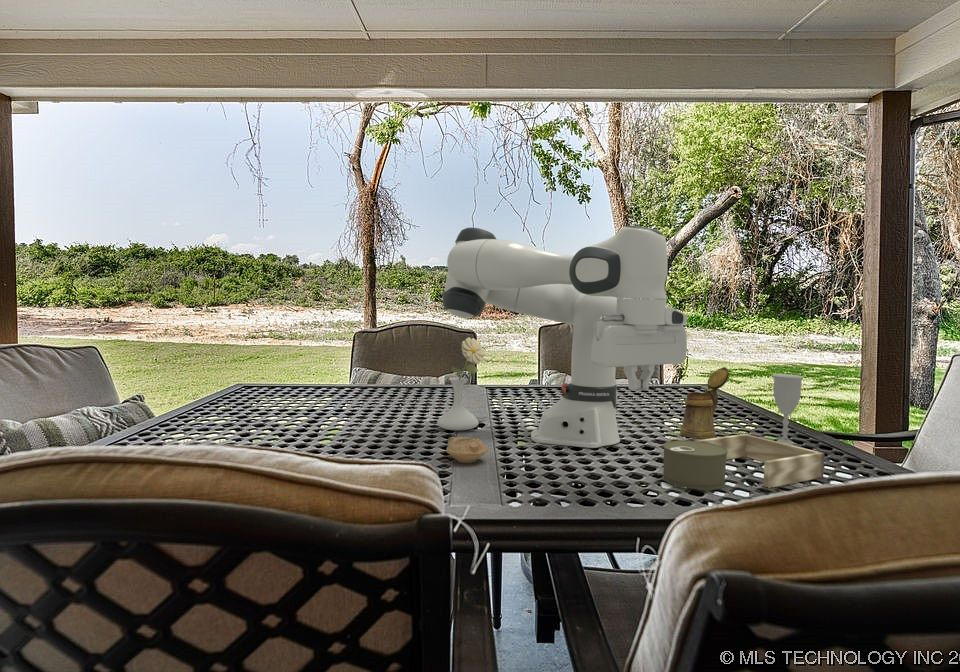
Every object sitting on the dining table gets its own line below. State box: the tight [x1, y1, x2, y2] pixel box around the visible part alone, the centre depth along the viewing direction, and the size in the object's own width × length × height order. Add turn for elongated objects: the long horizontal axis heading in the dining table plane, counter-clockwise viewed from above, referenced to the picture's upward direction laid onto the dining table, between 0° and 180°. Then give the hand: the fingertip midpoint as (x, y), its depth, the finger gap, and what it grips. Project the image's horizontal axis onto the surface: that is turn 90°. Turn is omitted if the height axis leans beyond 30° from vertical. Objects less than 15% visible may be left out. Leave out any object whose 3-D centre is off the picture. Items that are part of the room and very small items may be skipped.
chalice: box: [772, 373, 804, 446], centre depth 145 cm, size 7×7×18 cm
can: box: [662, 439, 727, 491], centre depth 119 cm, size 12×12×7 cm
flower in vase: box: [436, 337, 486, 431], centre depth 163 cm, size 13×11×25 cm
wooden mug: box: [679, 366, 730, 440], centre depth 161 cm, size 9×14×18 cm, turn 114°
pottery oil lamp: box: [445, 436, 489, 464], centre depth 133 cm, size 9×12×7 cm
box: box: [695, 433, 825, 489], centre depth 128 cm, size 17×19×5 cm
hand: (638, 389), depth 111 cm, fingers closed
